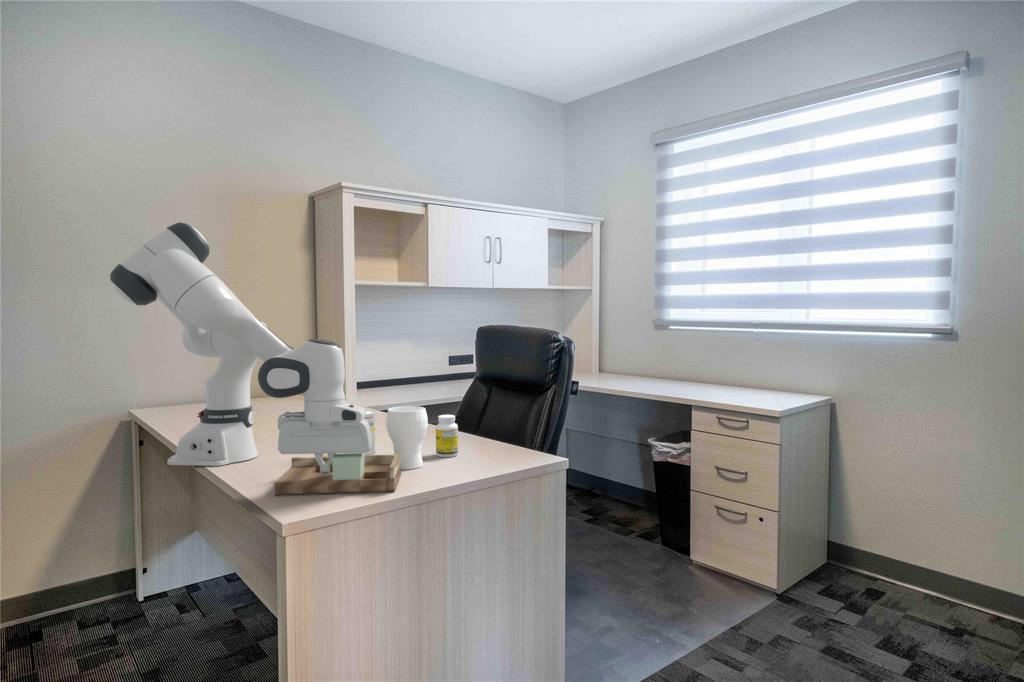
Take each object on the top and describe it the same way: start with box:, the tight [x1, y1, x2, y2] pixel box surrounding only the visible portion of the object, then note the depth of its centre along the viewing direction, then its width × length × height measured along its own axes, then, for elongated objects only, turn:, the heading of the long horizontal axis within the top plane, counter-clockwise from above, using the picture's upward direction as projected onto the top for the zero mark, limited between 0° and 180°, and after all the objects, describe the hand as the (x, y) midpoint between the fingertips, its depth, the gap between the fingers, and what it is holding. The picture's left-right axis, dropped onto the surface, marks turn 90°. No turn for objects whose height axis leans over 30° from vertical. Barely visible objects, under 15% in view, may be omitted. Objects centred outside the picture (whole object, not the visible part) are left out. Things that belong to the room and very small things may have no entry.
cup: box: [385, 405, 429, 470], centre depth 160 cm, size 11×11×15 cm
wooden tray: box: [273, 453, 402, 497], centre depth 143 cm, size 26×15×6 cm, turn 95°
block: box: [332, 453, 365, 480], centre depth 139 cm, size 6×6×5 cm
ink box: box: [364, 410, 377, 455], centre depth 173 cm, size 9×5×12 cm, turn 131°
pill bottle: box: [435, 414, 459, 458], centre depth 172 cm, size 6×6×11 cm
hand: (325, 472), depth 139 cm, fingers closed
